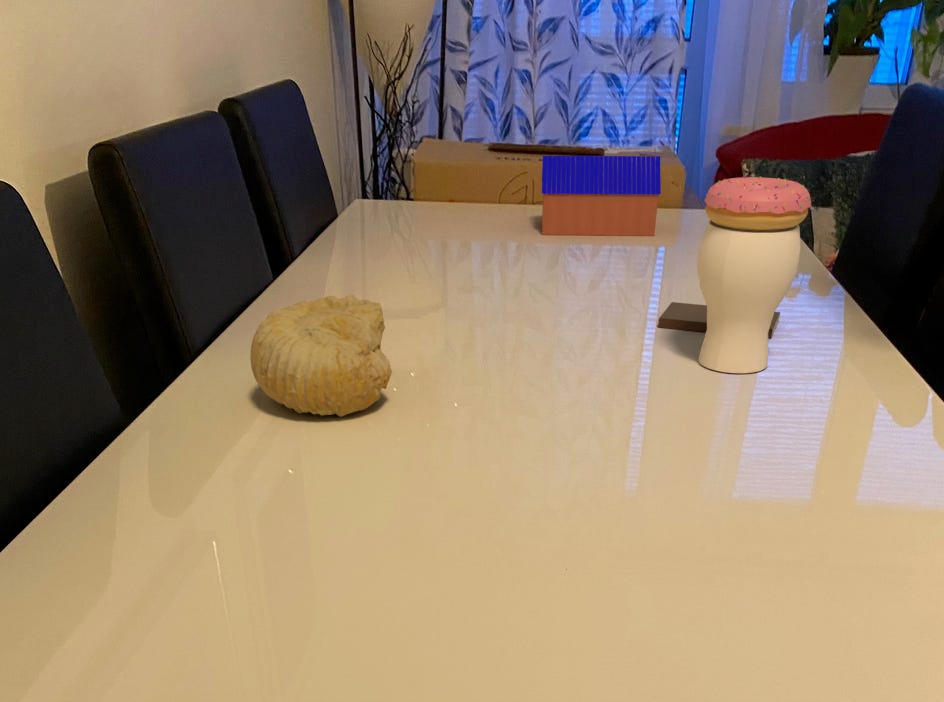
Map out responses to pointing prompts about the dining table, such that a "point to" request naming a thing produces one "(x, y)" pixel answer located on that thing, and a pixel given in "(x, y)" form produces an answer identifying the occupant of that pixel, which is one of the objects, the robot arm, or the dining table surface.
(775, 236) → the cup
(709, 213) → the doughnut
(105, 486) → the dining table surface
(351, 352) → the seashell
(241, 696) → the dining table surface
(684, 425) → the dining table surface
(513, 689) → the dining table surface
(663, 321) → the walnut coaster board
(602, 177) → the house
